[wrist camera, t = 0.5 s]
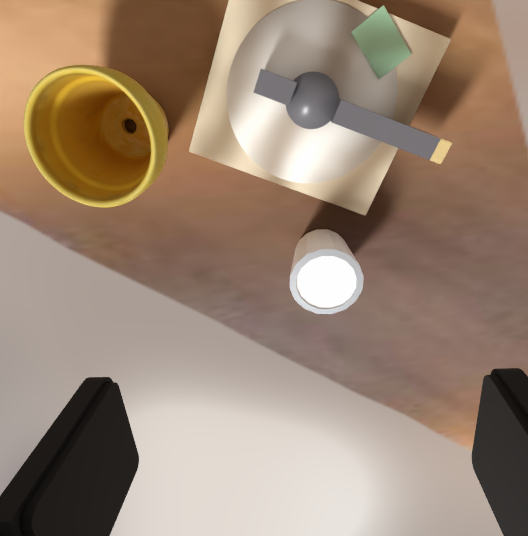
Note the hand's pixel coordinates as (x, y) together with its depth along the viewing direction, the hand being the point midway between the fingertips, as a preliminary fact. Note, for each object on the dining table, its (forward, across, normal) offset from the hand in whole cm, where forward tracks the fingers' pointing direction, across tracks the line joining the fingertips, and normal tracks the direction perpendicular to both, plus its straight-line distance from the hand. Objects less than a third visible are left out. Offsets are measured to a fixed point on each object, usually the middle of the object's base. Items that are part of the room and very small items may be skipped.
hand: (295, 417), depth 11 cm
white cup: (+34, -2, +9) cm, 35 cm away
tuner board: (+33, -1, -7) cm, 34 cm away
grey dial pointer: (+31, -5, -5) cm, 31 cm away
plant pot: (+33, +16, -6) cm, 37 cm away
